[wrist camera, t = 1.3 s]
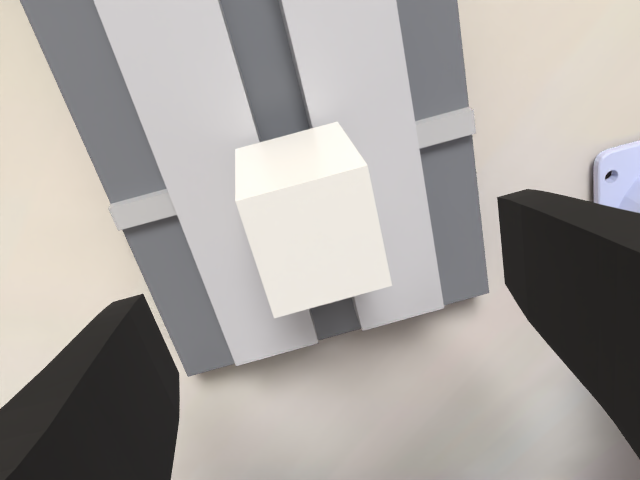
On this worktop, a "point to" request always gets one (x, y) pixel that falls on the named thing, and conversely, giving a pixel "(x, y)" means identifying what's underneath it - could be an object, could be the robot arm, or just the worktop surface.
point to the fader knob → (310, 219)
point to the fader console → (261, 125)
